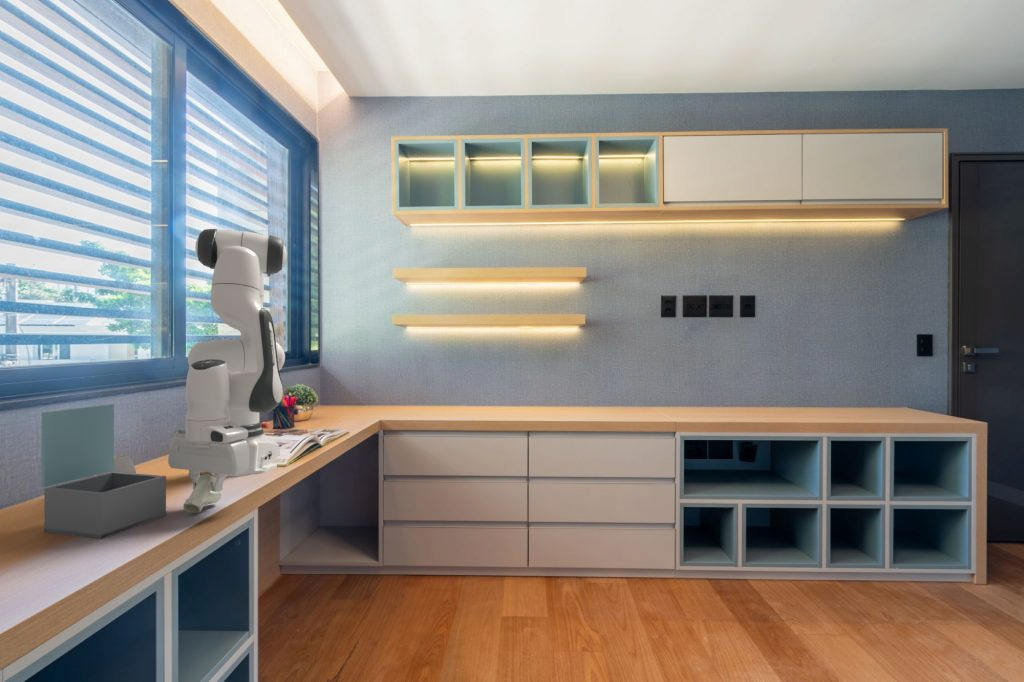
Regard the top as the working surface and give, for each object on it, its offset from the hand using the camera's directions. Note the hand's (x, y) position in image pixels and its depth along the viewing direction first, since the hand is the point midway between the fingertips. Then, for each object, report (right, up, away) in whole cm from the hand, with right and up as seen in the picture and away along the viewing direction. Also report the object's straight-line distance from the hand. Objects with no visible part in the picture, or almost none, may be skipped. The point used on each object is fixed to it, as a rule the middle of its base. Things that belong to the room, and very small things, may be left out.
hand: (207, 490), depth 120 cm
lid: (-22, +13, -9) cm, 27 cm away
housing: (-15, -4, -11) cm, 19 cm away
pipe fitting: (+1, -4, +1) cm, 4 cm away
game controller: (-34, -4, +13) cm, 37 cm away
